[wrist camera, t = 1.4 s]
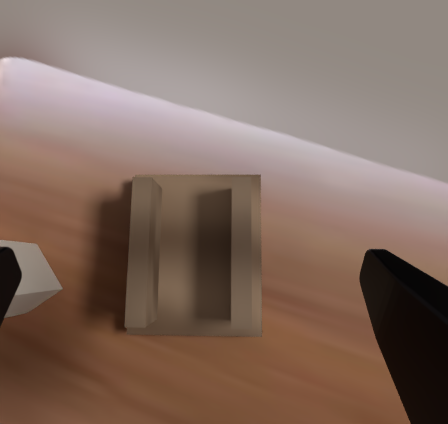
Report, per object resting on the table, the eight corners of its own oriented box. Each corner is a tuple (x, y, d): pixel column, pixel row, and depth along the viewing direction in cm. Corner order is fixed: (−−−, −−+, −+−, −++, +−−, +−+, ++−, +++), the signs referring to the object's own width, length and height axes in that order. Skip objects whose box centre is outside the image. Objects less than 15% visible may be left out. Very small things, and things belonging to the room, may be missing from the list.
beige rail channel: (260, 332, 23) (266, 348, 19) (133, 330, 23) (109, 345, 19) (259, 180, 25) (264, 161, 20) (141, 180, 25) (121, 161, 21)
